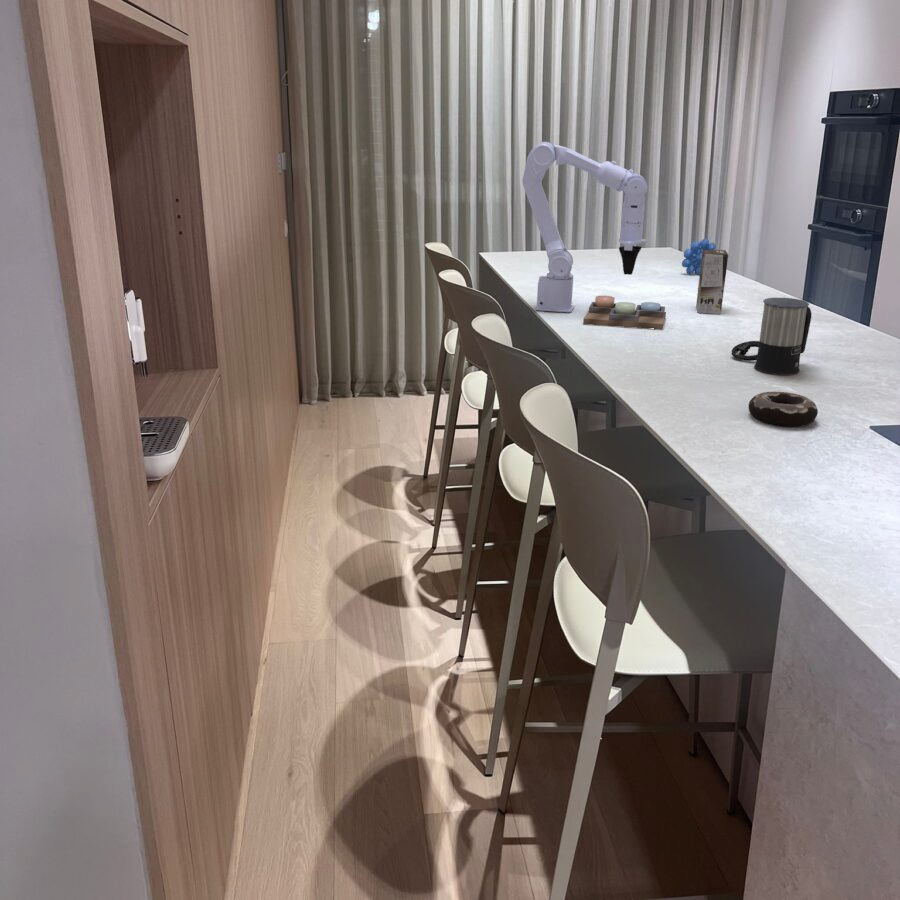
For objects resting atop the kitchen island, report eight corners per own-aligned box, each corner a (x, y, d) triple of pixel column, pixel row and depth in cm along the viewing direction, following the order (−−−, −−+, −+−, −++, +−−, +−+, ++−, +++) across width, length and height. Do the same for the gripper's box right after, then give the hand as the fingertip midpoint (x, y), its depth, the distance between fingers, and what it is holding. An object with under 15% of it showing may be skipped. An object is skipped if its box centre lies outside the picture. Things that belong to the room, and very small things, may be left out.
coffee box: (721, 314, 242) (729, 254, 236) (697, 313, 243) (704, 253, 237) (719, 307, 250) (726, 249, 245) (695, 306, 252) (702, 248, 246)
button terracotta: (593, 307, 235) (594, 298, 235) (595, 303, 240) (596, 295, 239) (612, 308, 234) (613, 299, 233) (614, 305, 239) (615, 296, 238)
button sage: (614, 314, 228) (614, 305, 227) (615, 310, 232) (616, 301, 231) (633, 316, 226) (634, 306, 226) (635, 312, 231) (636, 302, 230)
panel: (583, 324, 229) (584, 312, 228) (590, 312, 243) (591, 301, 242) (662, 329, 224) (663, 318, 223) (665, 317, 238) (666, 306, 237)
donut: (799, 409, 166) (802, 388, 165) (826, 430, 156) (830, 408, 154) (738, 409, 166) (740, 388, 165) (761, 430, 155) (764, 408, 154)
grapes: (709, 272, 305) (714, 236, 300) (717, 276, 298) (721, 239, 294) (676, 272, 304) (680, 236, 299) (683, 276, 297) (686, 239, 293)
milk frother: (793, 378, 185) (804, 307, 180) (717, 367, 193) (726, 298, 187) (808, 363, 196) (818, 296, 191) (736, 353, 204) (744, 288, 199)
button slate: (639, 314, 233) (640, 305, 232) (640, 310, 237) (641, 301, 236) (659, 315, 232) (660, 306, 231) (660, 311, 236) (661, 302, 235)
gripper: (645, 226, 227) (641, 279, 232) (649, 219, 240) (645, 270, 245) (618, 224, 229) (613, 277, 234) (623, 218, 242) (619, 269, 247)
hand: (628, 274), depth 239 cm, fingers closed
